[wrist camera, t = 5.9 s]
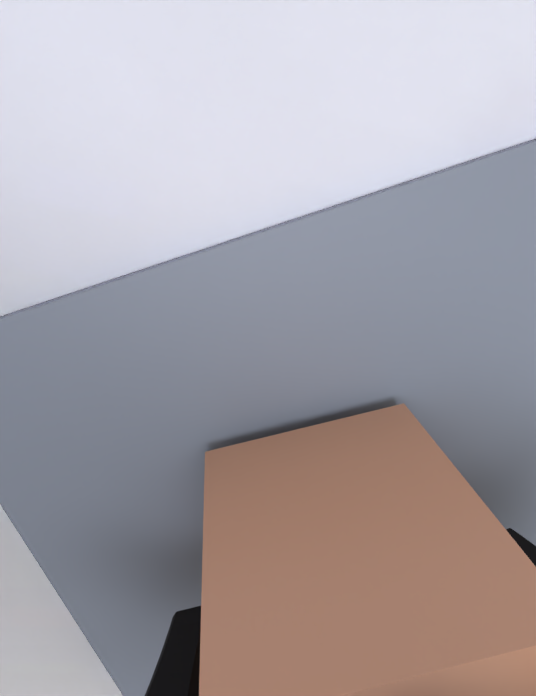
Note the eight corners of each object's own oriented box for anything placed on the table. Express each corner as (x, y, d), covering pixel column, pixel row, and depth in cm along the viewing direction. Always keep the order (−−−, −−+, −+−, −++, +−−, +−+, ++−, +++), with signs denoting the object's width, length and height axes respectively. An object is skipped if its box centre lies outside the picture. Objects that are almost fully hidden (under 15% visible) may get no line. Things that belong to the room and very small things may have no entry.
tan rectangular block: (250, 601, 14) (279, 929, 8) (204, 451, 12) (198, 732, 6) (423, 557, 14) (580, 848, 8) (404, 402, 13) (588, 631, 6)
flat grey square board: (163, 743, 18) (134, 1086, 11) (-88, 345, 12) (-463, 575, 5) (592, 604, 17) (820, 868, 11) (555, 132, 12) (996, 93, 5)
